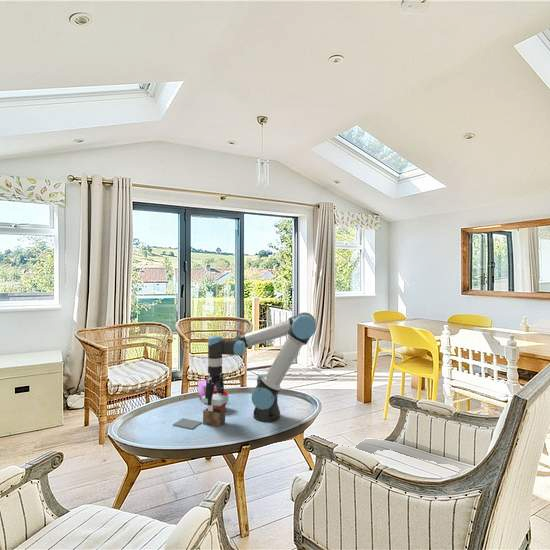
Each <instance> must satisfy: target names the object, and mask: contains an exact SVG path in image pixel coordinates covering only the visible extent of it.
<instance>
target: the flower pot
mask: <svg viewBox="0 0 550 550" xmlns="http://www.w3.org/2000/svg"><path fill="white" fill-rule="evenodd" d="M217 393H218V392H217V390H216V391H213V394H217ZM222 395H225V396H228V397H229V392H228V391H226V390H224V392H223V393H222ZM226 406H227V402H226V403H224V404H222V405H221V406H214V405H213V408H219V409H224V410H225V411H226Z"/></svg>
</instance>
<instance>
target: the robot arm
mask: <svg viewBox="0 0 550 550" xmlns="http://www.w3.org/2000/svg"><path fill="white" fill-rule="evenodd" d="M316 326H317V325H316V319H315V317H314V316H313V314H311V313H309V312H300V313H299V314H298V313H297V314H296V315H294V316H291V317H288V319H287V320H285V321H282V322H279V323H276V324H275V323H274V324H272V325H269V326H266V327H263V328H260V329H256V330H254V331H251V332H247V333H245V334H241V335H236V336H235V337H234V338H233V339H232V340H231V339H230V340H224V339H223V336H222V335H210V336H209V337H208V341H207V365H208V366H207V373H208V374H209V378H206V379H205V380H206V393H205V398H206V399H208V404H207V408H208V411H213V398H212V396H213V391H214V387H215V385H216V388H217V392H218V393H217V394H218V395H222V393H223V392H224V391H225V386H224V373H222V372H223V366H222V365H223V355H224V356H225V355H227V356H228V355H229V356H244V354H245V352H246V349H247V348H251V347H253V346H257V345H259V344H263V343H266V342H269V341H270V342H271V341H273V340H276V339H279V338H282V337H286V336H287V337H286V340H285V342H284V344H283V345H282V347H281V348H280V350H279V352H278V353H277V356H276V357H275V359H274V360H273V363H272V365H271V366H270V367H269V370H268V371H267V373H266V374H259V375H257V377H256V386H255V387H254V390H253V391H252V393H251V401H252V404H253V406H255V407H254V409H253V414H252V415H253V419H254V420H256V421H259V422H264V423H268V422H269V423H270V422H271V423H272V422H274V421H278V420H279V419H281V410H280V407H279V404H278V396H279V393H280V391H281V389H282V388H281V383H282V381H283V380H284V378H285V377H286V374H288V373H287V372H288V371H289V369H290V368H291V365H293V362H294V361H295V359H296V357H297V355H298V354H299V352H300V350H301V349H302V347H303V346H305V345H307V344H308V343H309V341H310V339H311V337H312V336H313V335H314V334H315V332H316V328H317V327H316ZM212 383H213V384H212Z"/></svg>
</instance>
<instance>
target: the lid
mask: <svg viewBox="0 0 550 550" xmlns="http://www.w3.org/2000/svg"><path fill="white" fill-rule="evenodd" d="M212 398H213V405H214V406H221V405H222V404H224V403H226V404H227V402H228V401H229V395H228V396H225V395H218V394H213V396H212ZM200 403H202V404H207V405H208V399H206V398H205V396H203V397H201V398H200Z"/></svg>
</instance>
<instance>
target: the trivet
mask: <svg viewBox="0 0 550 550" xmlns="http://www.w3.org/2000/svg"><path fill="white" fill-rule="evenodd" d="M202 424H203V421H199V420H194V419H189V418H181V419H179V420H177V421H176V422H175V423H173V424H172V426H173V427H177V428H183V429H188V430H193V429H195V428H197V427H198V426H199V425H202Z"/></svg>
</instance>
